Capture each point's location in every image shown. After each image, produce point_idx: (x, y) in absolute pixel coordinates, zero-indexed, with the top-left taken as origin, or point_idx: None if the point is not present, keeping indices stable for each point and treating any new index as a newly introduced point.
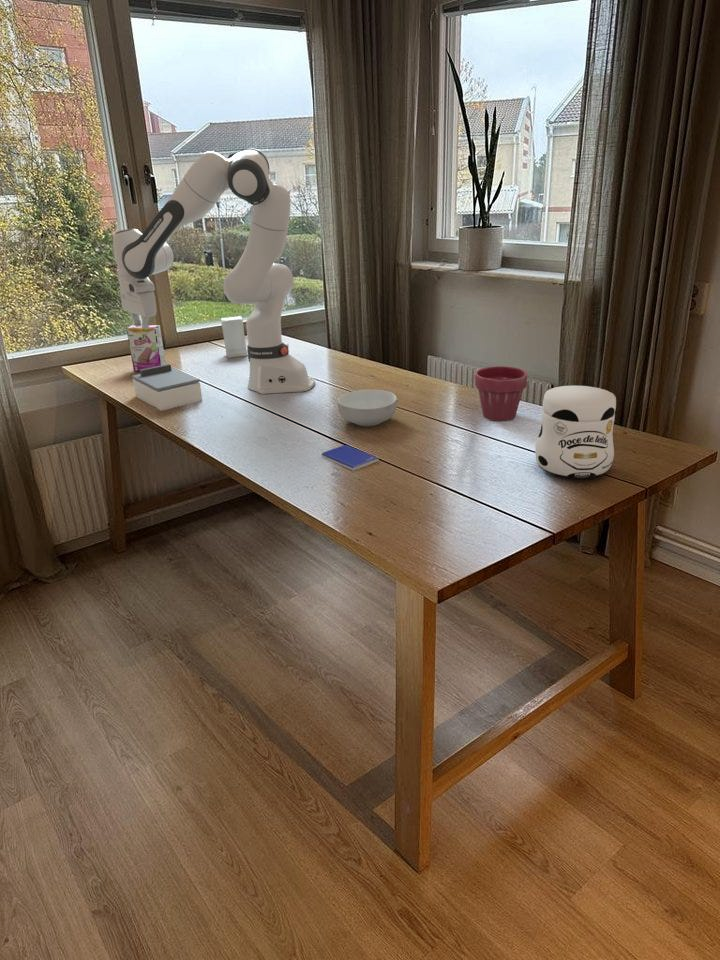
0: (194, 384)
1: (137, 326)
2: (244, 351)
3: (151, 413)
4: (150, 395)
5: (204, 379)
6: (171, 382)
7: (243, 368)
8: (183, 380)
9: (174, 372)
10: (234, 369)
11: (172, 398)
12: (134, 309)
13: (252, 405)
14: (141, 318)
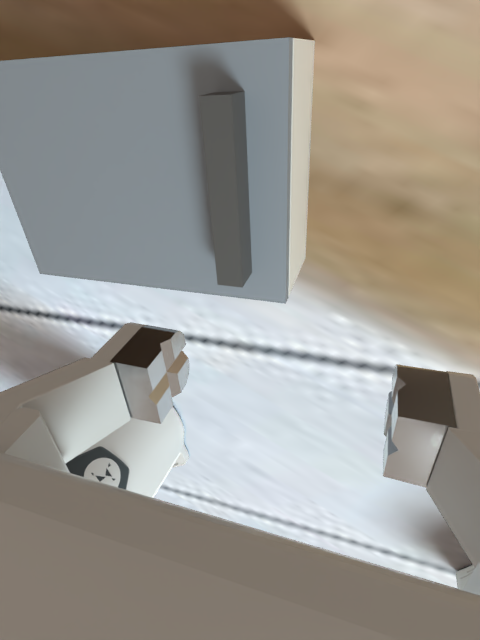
0: None
1: (394, 371)
2: (462, 585)
3: (26, 7)
4: None
5: (322, 374)
6: (34, 169)
7: (336, 488)
8: (45, 223)
9: (187, 261)
10: (350, 475)
11: None
12: (30, 596)
13: (4, 303)
14: (34, 411)
